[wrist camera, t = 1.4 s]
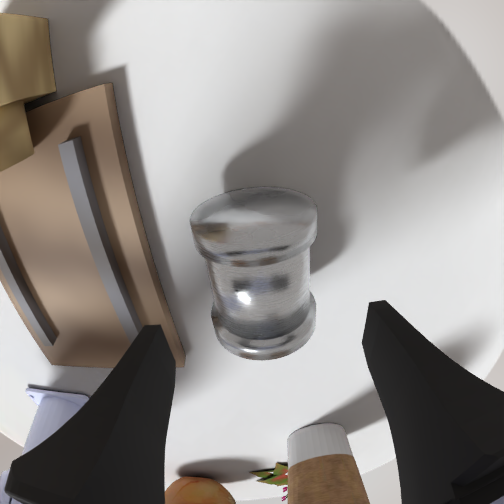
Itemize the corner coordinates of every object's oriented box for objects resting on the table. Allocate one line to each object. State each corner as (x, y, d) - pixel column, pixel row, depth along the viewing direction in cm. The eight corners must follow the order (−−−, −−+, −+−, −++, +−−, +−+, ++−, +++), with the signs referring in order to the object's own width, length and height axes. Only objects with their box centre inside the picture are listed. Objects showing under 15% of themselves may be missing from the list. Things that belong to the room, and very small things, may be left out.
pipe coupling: (305, 285, 18) (325, 352, 14) (216, 295, 18) (212, 364, 14) (303, 182, 15) (332, 232, 10) (196, 194, 15) (181, 249, 10)
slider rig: (185, 355, 21) (172, 475, 13) (55, 355, 21) (19, 448, 13) (101, -15, 9) (-24, -65, 2) (-50, 70, 9) (-160, 107, 2)
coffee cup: (359, 438, 30) (385, 555, 17) (286, 456, 31) (299, 572, 18) (351, 407, 25) (386, 556, 13) (263, 430, 27) (274, 577, 14)
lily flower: (347, 467, 37) (353, 493, 33) (272, 486, 39) (274, 511, 35) (324, 444, 31) (330, 479, 27) (232, 466, 33) (232, 498, 29)
